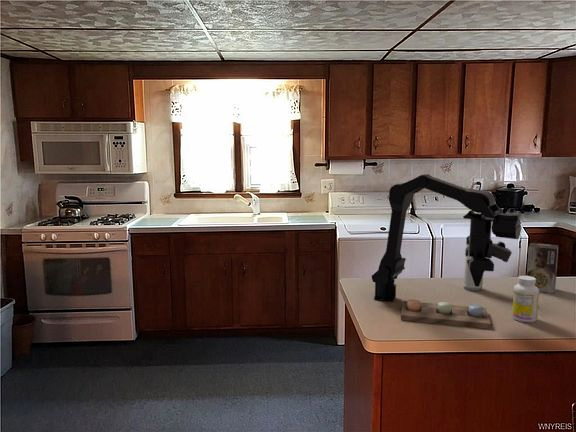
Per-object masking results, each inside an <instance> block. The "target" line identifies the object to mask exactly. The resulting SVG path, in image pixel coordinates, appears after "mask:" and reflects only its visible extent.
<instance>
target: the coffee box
mask: <svg viewBox="0 0 576 432" xmlns="http://www.w3.org/2000/svg"><path fill="white" fill-rule="evenodd" d="M558 254H559V245H558V244H547V243H536V242H530V243H529V246H528V257H527V268H526V269H527V271H526V276H531V277H534V278H536V283H535V286H536V287H537V288H538V289H539V292H542V293H543V292H544V293H550V294H555V292H556V285H557V284H556V283H557V269H558V257H559V255H558Z"/></svg>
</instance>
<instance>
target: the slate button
mask: <svg viewBox="0 0 576 432" xmlns="http://www.w3.org/2000/svg"><path fill="white" fill-rule="evenodd" d="M468 306H469V315H470V317H481V318H483V317H482V316H483V308H484V307H483V306H482V305H480V304H469V305H468Z"/></svg>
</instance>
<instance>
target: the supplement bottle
mask: <svg viewBox="0 0 576 432" xmlns="http://www.w3.org/2000/svg"><path fill="white" fill-rule="evenodd" d="M517 281H518V283H517V284H515V285H514V286H513V296H512V297H513V299H512V309H511V310H512V312H511V316H512V318H513V319H514V320H516V321H519V322H522V323H533V322H534V323H535V322H536V321H537V319H538V309H539V297H540V296H539V294H540V291H539V289H538V288H537V287H536V286H535V283H536V278H534V277H531V276H527V275H519V276H518V277H517Z"/></svg>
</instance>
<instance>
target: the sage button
mask: <svg viewBox="0 0 576 432" xmlns="http://www.w3.org/2000/svg"><path fill="white" fill-rule="evenodd" d="M437 304H438V306H437V312H439V313H438V314H449V315H451V314H450V313H451V305H452V304H451V303H450V302H447V301H439V302H437Z"/></svg>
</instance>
